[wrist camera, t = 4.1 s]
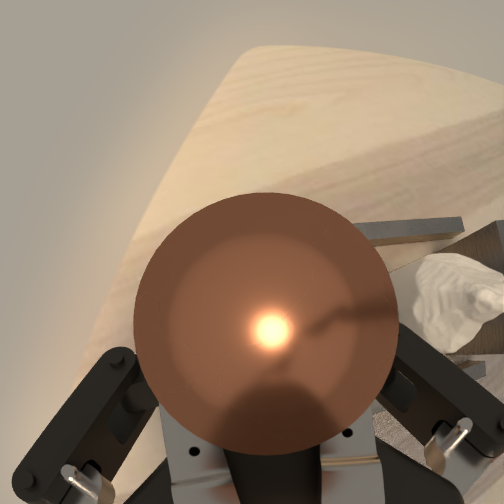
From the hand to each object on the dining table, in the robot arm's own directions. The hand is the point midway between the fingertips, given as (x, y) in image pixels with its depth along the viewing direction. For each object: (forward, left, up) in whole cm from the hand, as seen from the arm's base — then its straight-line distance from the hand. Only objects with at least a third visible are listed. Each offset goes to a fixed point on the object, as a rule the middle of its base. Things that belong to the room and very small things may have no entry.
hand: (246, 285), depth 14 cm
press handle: (+1, +2, -8) cm, 8 cm away
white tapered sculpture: (-7, +8, -8) cm, 13 cm away
